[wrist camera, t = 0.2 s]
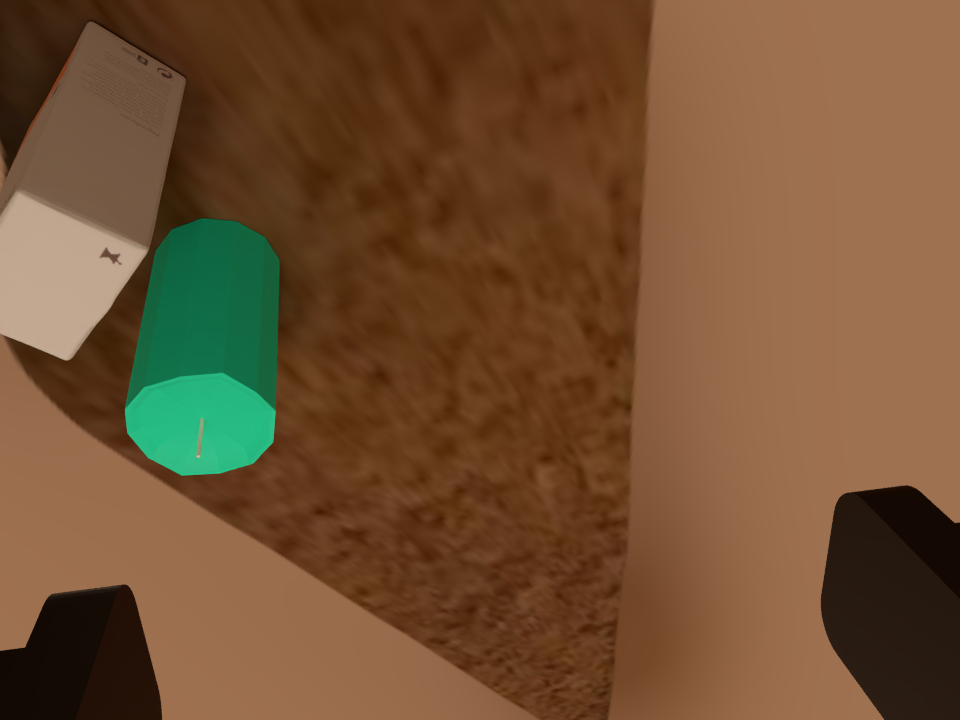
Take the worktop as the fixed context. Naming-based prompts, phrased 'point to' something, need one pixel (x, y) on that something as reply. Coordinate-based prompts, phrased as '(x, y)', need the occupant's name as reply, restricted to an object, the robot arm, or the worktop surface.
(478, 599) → the worktop surface
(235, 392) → the candle
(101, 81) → the skincare box
